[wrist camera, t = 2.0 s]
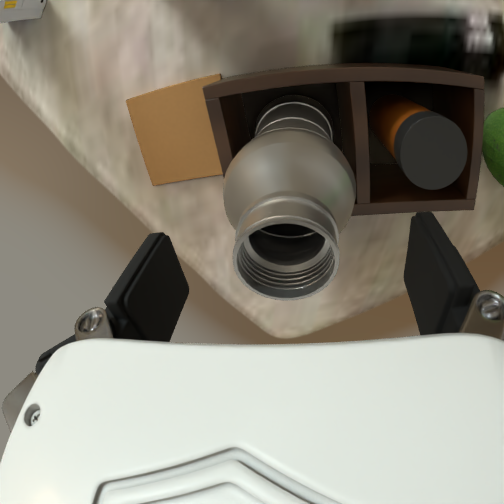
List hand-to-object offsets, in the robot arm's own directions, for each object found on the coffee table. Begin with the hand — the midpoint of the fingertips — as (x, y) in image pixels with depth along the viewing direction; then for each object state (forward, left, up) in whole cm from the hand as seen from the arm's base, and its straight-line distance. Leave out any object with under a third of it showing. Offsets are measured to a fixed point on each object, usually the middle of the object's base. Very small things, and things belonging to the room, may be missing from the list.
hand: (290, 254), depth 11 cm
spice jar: (0, +9, -19) cm, 21 cm away
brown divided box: (0, +5, -19) cm, 20 cm away
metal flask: (0, 0, -19) cm, 19 cm away
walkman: (-24, -27, -19) cm, 41 cm away
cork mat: (-1, -11, -19) cm, 22 cm away
